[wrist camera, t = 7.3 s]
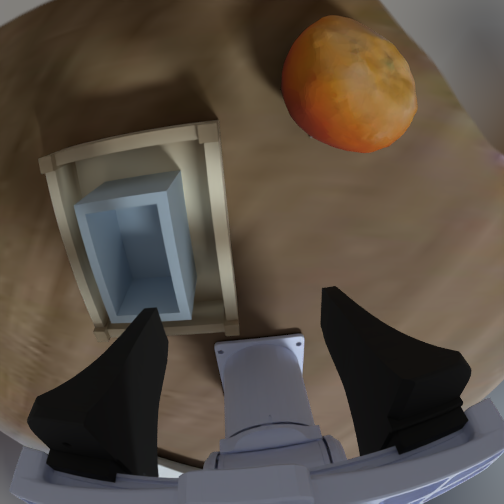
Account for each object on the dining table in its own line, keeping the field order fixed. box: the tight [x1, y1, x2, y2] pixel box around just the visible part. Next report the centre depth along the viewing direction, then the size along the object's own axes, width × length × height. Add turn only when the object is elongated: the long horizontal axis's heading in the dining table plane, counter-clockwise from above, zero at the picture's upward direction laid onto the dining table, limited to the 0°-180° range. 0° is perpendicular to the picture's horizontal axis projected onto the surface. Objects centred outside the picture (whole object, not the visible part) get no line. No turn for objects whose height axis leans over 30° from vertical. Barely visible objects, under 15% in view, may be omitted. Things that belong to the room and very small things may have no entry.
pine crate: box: [38, 120, 240, 342], centre depth 20 cm, size 14×11×4 cm
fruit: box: [280, 15, 418, 153], centre depth 15 cm, size 8×8×8 cm
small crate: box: [74, 170, 197, 323], centre depth 19 cm, size 8×5×5 cm
